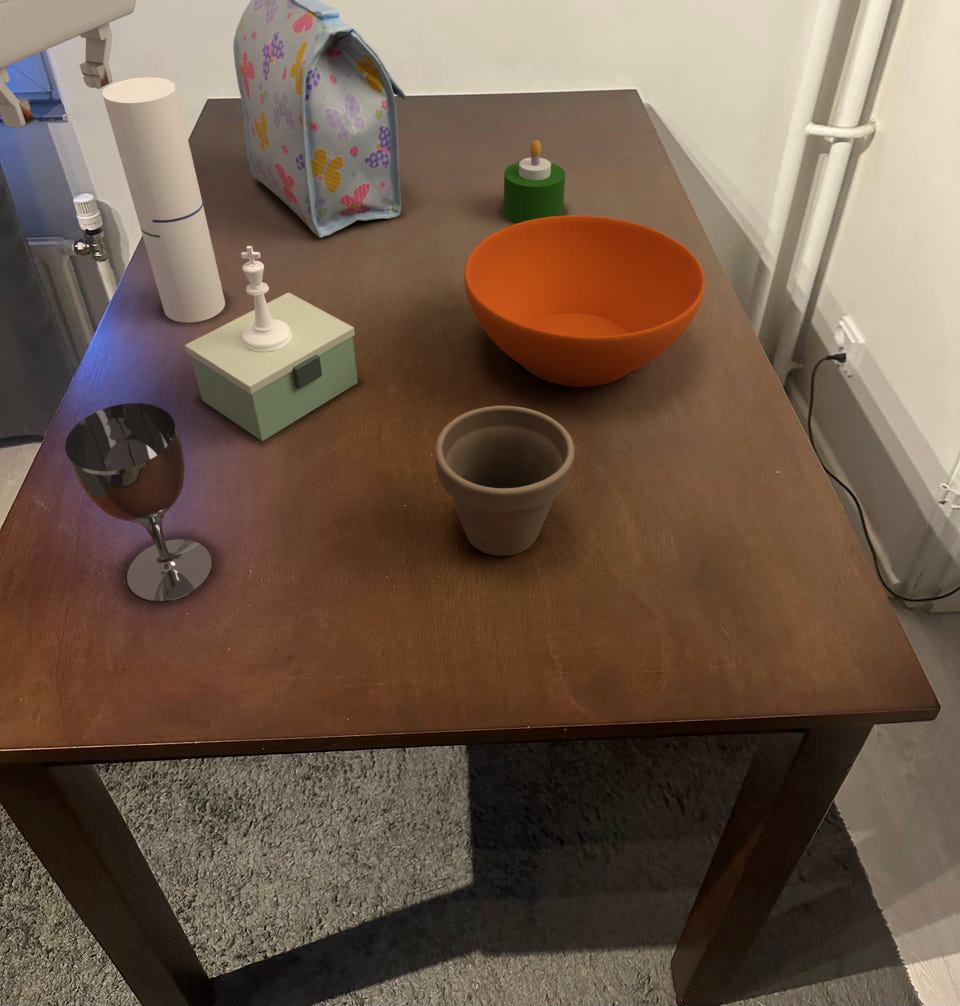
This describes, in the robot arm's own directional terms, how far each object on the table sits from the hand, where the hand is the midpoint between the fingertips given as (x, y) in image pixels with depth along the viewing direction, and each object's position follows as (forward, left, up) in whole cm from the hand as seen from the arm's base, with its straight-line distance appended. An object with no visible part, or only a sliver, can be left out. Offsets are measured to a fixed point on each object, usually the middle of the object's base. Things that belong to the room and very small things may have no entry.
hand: (61, 104), depth 73 cm
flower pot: (+10, -40, -31) cm, 51 cm away
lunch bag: (+44, +21, -31) cm, 57 cm away
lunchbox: (+10, -9, -30) cm, 33 cm away
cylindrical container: (+14, +12, -31) cm, 36 cm away
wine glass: (-13, -21, -31) cm, 39 cm away
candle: (+60, -3, -31) cm, 67 cm away
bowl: (+37, -28, -31) cm, 55 cm away
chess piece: (+9, -9, -24) cm, 27 cm away
